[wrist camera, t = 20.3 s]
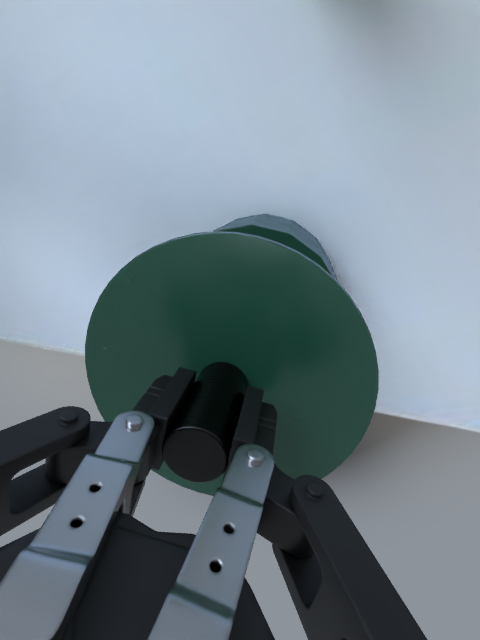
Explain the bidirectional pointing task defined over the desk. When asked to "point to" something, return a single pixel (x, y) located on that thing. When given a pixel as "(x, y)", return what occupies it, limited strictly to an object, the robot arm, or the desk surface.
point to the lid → (235, 352)
